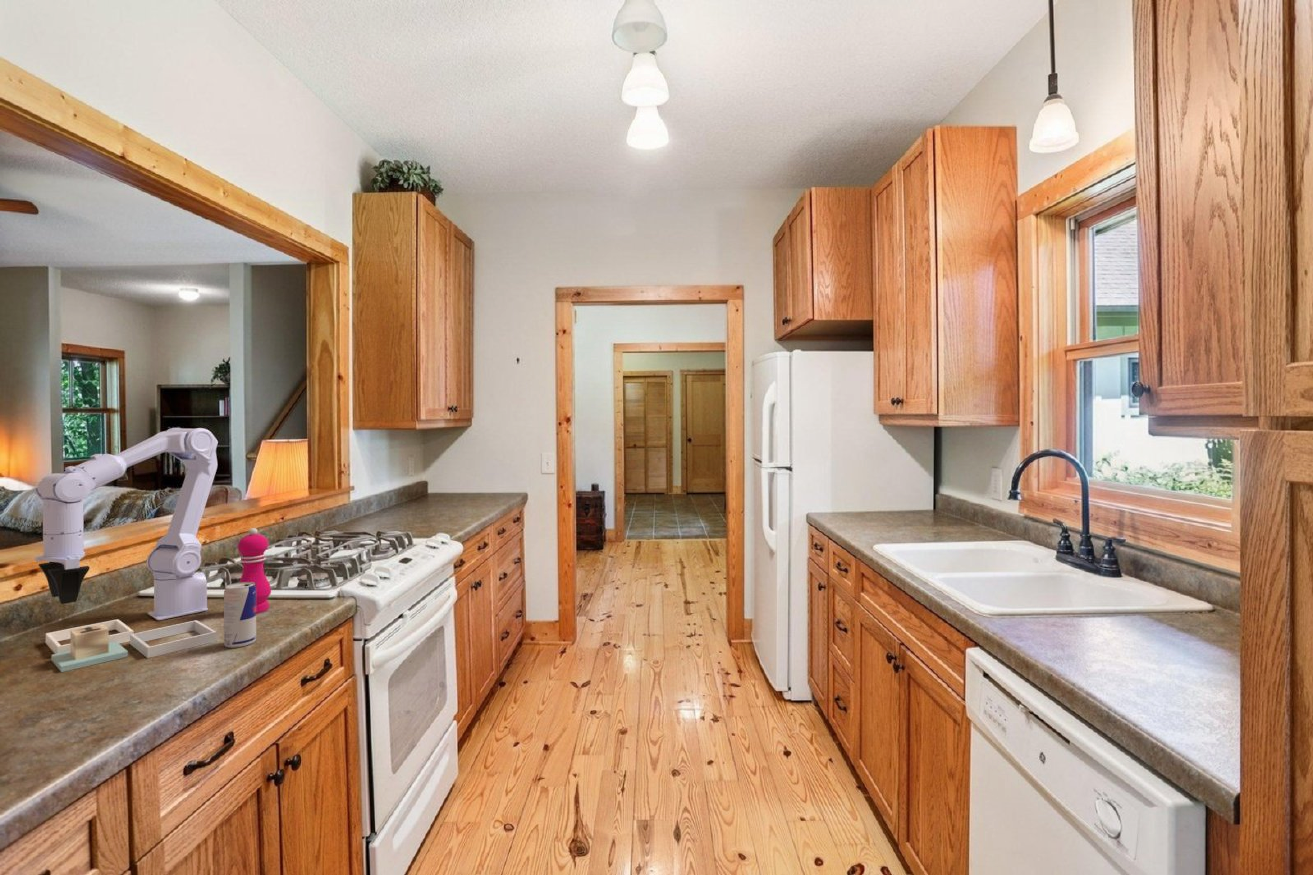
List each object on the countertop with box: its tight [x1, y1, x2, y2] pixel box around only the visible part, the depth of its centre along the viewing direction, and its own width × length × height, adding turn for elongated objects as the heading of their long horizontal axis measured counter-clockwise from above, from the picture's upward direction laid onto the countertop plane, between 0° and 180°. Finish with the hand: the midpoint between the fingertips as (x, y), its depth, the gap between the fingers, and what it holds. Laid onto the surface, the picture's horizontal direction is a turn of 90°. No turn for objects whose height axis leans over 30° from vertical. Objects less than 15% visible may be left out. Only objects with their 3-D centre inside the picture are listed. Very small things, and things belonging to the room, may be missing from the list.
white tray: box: [45, 619, 135, 654], centre depth 118 cm, size 11×12×2 cm
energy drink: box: [223, 582, 257, 649], centre depth 118 cm, size 5×5×12 cm
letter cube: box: [69, 624, 110, 660], centre depth 110 cm, size 4×4×5 cm
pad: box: [51, 641, 129, 673], centre depth 110 cm, size 9×9×1 cm
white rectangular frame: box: [129, 619, 218, 659], centre depth 118 cm, size 11×12×2 cm
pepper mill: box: [237, 527, 272, 614], centre depth 139 cm, size 7×7×20 cm
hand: (64, 599), depth 117 cm, fingers open, 7 cm apart
